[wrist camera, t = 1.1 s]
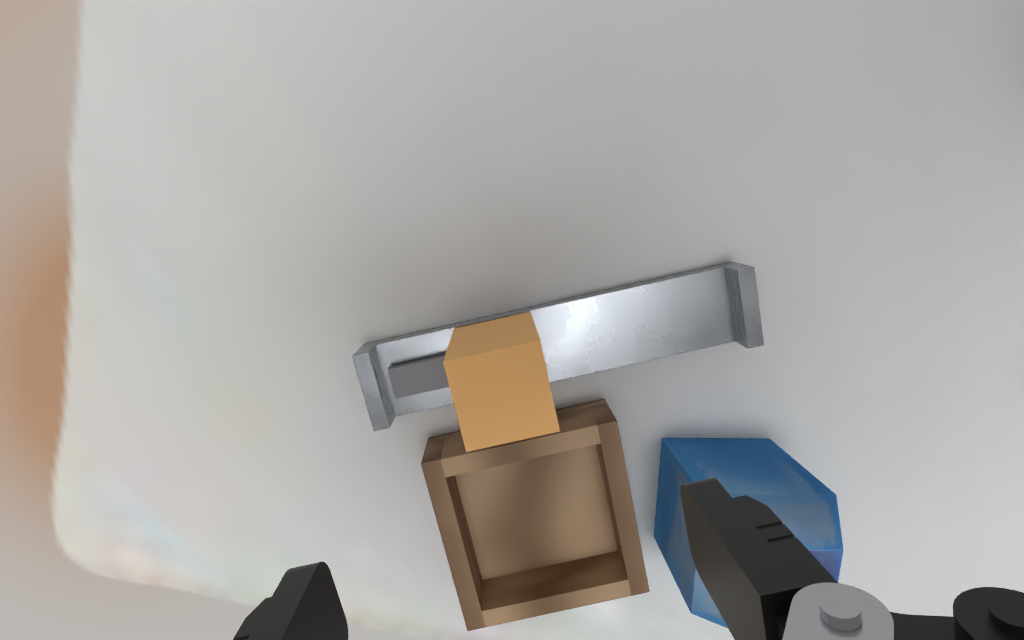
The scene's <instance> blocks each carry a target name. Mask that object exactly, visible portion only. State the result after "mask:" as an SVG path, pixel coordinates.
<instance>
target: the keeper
mask: <svg viewBox="0 0 1024 640" xmlns="http://www.w3.org/2000/svg"><path fill="white" fill-rule="evenodd" d="M556 415H557V419H558V424H559V429H560V432H555V433H551V434H546V435H541V436H537V437H532V438H528V439H523V440H519V441H514V442H510V443H505V444H501V445H496V446H491V447H487V448H482V449H478V450H473V451H469V452H466V449H465V445H464V442H463V438H462V434H461V431H458V432H454V433H449V434H445V435H440V436H435V437H431V438H428V441H427V445H426V448H425V452H424V456H423V459H422V463H421V465H422V469H423V472H424V476H425V480H426V483H427V487H428V490H429V494H430V498H431V501H432V505H433V508H434V512H435V516H436V519H437V523H438V526H439V530H440V533H441V537H442V541H443V544H444V548H445V551H446V555H447V559H448V562H449V566H450V569H451V573H452V577H453V580H454V584H455V587H456V591H457V595H458V598H459V602H460V605H461V609H462V613H463V616H464V620H465V623H466V627H467V631H470V630H475V629H479V628H484V627H489V626H493V625H498V624H503V623H507V622H512V621H516V620H521V619H526V618H530V617H535V616H540V615H544V614H549V613H554V612H558V611H563V610H567V609H572V608H577V607H581V606H586V605H591V604H595V603H600V602H604V601H609V600H614V599H618V598H623V597H628V596H632V595H637V594H642V593H646V592H649V586H648V581H647V576H646V571H645V566H644V560H643V555H642V550H641V545H640V539H639V534H638V529H637V524H636V519H635V513H634V508H633V503H632V498H631V492H630V487H629V482H628V477H627V472H626V466H625V461H624V456H623V451H622V445H621V440H620V435H619V430H618V425H617V420H616V419H615V417H614V415H613V413H612V412H611V410H610V408H609V406H608V405H607V403H606V401H605V399H603V400H599V401H594V402H590V403H585V404H581V405H576V406H572V407H567V408H562V409H558V410H556Z"/></svg>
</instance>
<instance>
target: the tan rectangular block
mask: <svg viewBox="0 0 1024 640" xmlns="http://www.w3.org/2000/svg"><path fill="white" fill-rule="evenodd" d="M387 370H388V374H389V377H390V381H391V385H392V388H393V392H394V395H395V399H397V398H401V397H406V396H410V395H415V394H419V393H424V392H428V391H433V390H437V389H442V388H446V387H450V391H451V395H452V399H453V403H454V407H455V410H456V414H457V418H458V422H459V426H460V430H461V434H462V438H463V442H464V445H465V449H466V452H469V451H473V450H478V449H482V448H487V447H491V446H496V445H501V444H505V443H510V442H514V441H519V440H523V439H528V438H532V437H537V436H541V435H546V434H551V433H555V432H560V429H559V424H558V419H557V415H556V410H555V406H554V401H553V396H552V392H551V387H550V382H549V378H548V373H547V369H546V364H545V359H544V355H543V350H542V345H541V341H540V338H539V335H538V332H537V329H536V326H535V323H534V320H533V318H532V315H531V312H527V313H523V314H518V315H514V316H509V317H505V318H500V319H496V320H491V321H487V322H482V323H478V324H473V325H469V326H464V327H460V328H455V329H453V333H452V336H451V339H450V342H449V345H448V348H447V351H446V354H444V355H439V356H435V357H430V358H426V359H421V360H417V361H412V362H408V363H403V364H399V365H394V366H390V367H389V368H388V369H387Z"/></svg>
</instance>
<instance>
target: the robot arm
mask: <svg viewBox="0 0 1024 640" xmlns="http://www.w3.org/2000/svg"><path fill="white" fill-rule="evenodd" d="M680 493H681V499H682V505H683V511H684V517H685V523H686V529H687V535H688V541H689V546H690V551H691V555H692V558H693V561H694V564H695V567H696V570H697V572H698V574H699V576H700V578H701V580H702V582H703V584H704V585H705V587H706V589H707V591H708V593H709V594H710V596H711V598H712V600H713V601H714V603H715V605H716V607H717V609H718V610H719V612H720V614H721V616H722V618H723V619H724V621H725V623H726V625H727V627H728V628H729V630H730V632H731V634H732V636H733V637H734V639H735V640H1024V593H1022V592H1019V591H1015V590H1010V589H1005V588H996V587H982V588H974V589H970V590H967V591H965V592H962V593H961V594H960V595H958V596H957V598H956V599H955V600H954V604H953V616H954V617H946V616H924V615H907V614H898V613H893V612H889V611H888V609H887V608H886V607H885V606H884V604H883V603H882V602H880V601H879V600H878V599H877V598H875V597H874V596H872V595H871V594H869V593H867V592H865V591H863V590H861V589H858V588H856V587H853V586H849V585H845V584H840V583H838V582H837V581H836V580H835V579H834V578H833V577H832V575H831V574H830V573H829V572H828V571H827V570H826V569H825V568H824V567H823V566H822V565H821V563H820V562H819V561H818V560H817V559H816V558H815V557H814V556H813V555H812V554H811V553H810V551H809V550H808V549H807V548H806V547H805V546H804V545H803V544H802V543H801V542H800V541H799V539H798V538H797V537H796V538H795V537H794V534H793V533H792V532H791V531H790V530H789V529H788V527H787V526H786V525H785V524H784V525H783V524H782V521H781V520H780V519H779V518H778V517H777V515H776V514H775V513H774V512H773V511H772V510H771V509H770V508H769V507H768V506H767V505H765V504H763V503H761V502H759V501H757V500H755V499H753V498H751V497H749V496H747V495H744V496H739V497H735V498H732V497H731V496H730V495H729V493H728V492H727V491H726V490H725V489H724V487H723V486H722V485H721V484H720V482H719V481H718V480H717V479H716V478H714V477H713V478H708V479H704V480H699V481H695V482H690V483H685V484H682V485H681V486H680ZM233 640H348V626H347V621H346V617H345V614H344V611H343V608H342V605H341V602H340V599H339V596H338V593H337V590H336V587H335V584H334V581H333V578H332V575H331V572H330V569H329V567H328V565H327V564H326V563H325V562H319V563H314V564H309V565H305V566H300V567H296V568H291V569H289V570H287V571H286V573H285V574H284V576H283V578H282V580H281V582H280V583H279V585H278V587H277V589H276V590H275V592H274V594H273V596H272V597H270V598H266V599H265V600H264V601H263V602H261V603H260V604H259V605H258V606H257V607H256V609H254V610H253V611H252V612H251V613H250V615H248V616H247V617H246V619H245V620H244V622H243V624H242V625H241V627H240V629H239V630H238V632H237V634H236V635H235V637H234V639H233Z"/></svg>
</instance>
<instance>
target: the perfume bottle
mask: <svg viewBox="0 0 1024 640" xmlns="http://www.w3.org/2000/svg"><path fill="white" fill-rule="evenodd" d="M713 477H714V478H716V479H717V480H718V481H719V482H720V484H721V485H722V486H723V487H724V489H725V490H726V491H727V492H728V493H729V495H730V496H731V497H732V498H735V497H739V496H744V495H747V496H749V497H751V498H753V499H755V500H757V501H759V502H761V503H763V504H765V505H767V506H768V507H769V508H770V509H771V510H772V511H773V512H774V513H775V514H776V515H777V517H778V518H779V519H780V520H781V521H782V524H783V525H784V524H785V525H786V526H787V527H788V529H789V530H790V531H791V532H792V533H793V534H794V537H795V538H796V537H797V538H798V539H799V541H800V542H801V543H802V544H803V545H804V546H805V547H806V548H807V549H808V550H809V551H810V553H811V554H812V555H813V556H814V557H815V558H816V559H817V560H818V561H819V562H820V563H821V565H822V566H823V567H824V568H825V569H826V570H827V571H828V572H829V573H830V574H831V575H832V577H833V578H834V579H835V580H836V581H837V582H838V579H839V573H840V567H841V561H842V555H843V544H842V536H841V528H840V520H839V512H838V505H837V497H836V494H835V493H833V492H832V491H831V490H830V489H829V488H827V487H826V486H825V485H824V484H823V483H822V482H820V481H819V480H818V479H817V478H816V477H814V476H813V475H812V474H811V473H810V472H808V471H807V470H806V469H805V468H804V467H803V466H801V465H800V464H799V463H798V462H797V461H795V460H794V459H793V458H792V457H791V456H789V455H788V454H787V453H786V452H785V451H784V450H782V449H781V448H780V447H779V446H778V445H776V444H775V443H774V442H773V441H772V440H770V439H740V438H662V443H661V455H660V467H659V479H658V491H657V503H656V515H655V527H654V538H655V540H656V542H657V544H658V546H659V548H660V550H661V552H662V554H663V556H664V558H665V561H666V563H667V565H668V567H669V569H670V571H671V573H672V575H673V577H674V579H675V581H676V583H677V585H678V587H679V589H680V591H681V594H682V596H683V598H684V600H685V602H686V604H687V606H688V608H689V610H690V612H691V613H692V614H694V615H697V616H699V617H702V618H704V619H707V620H709V621H711V622H714V623H716V624H719V625H721V626H724V627H726V628H728V627H727V625H726V623H725V621H724V619H723V618H722V616H721V614H720V612H719V610H718V609H717V607H716V605H715V603H714V601H713V600H712V598H711V596H710V594H709V593H708V591H707V589H706V587H705V585H704V584H703V582H702V580H701V578H700V576H699V574H698V572H697V570H696V567H695V564H694V561H693V558H692V555H691V551H690V546H689V541H688V535H687V529H686V523H685V517H684V511H683V505H682V499H681V493H680V486H681V485H682V484H685V483H690V482H695V481H699V480H704V479H708V478H713ZM728 629H729V628H728Z"/></svg>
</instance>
